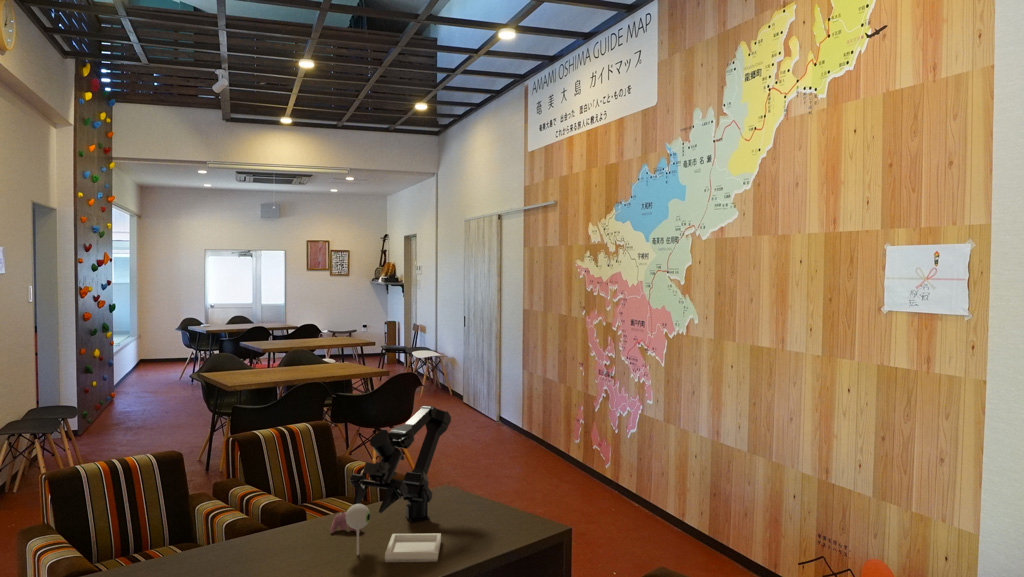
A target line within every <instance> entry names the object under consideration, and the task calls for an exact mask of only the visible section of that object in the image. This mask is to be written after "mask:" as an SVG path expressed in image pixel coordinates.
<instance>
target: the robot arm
mask: <svg viewBox="0 0 1024 577" xmlns="http://www.w3.org/2000/svg"><path fill="white" fill-rule="evenodd" d="M451 421H452V417H451V415H450V413H449V411H448V410H442V409H439V408H436V407H435V406H433V405H432V406H431V405H421V406H420V407H419V409H418V411H416V413H414V414H413V416H412V417H411V418H410V419H408V420H407V421H406V422H405V423H404V424H403V425H398V426H396V427H394V428H392V429H391V430H390V431H388V430H387V429H383V428H382V429H380V431H378V432H376V433H375V434H373V435H372V436H371V437H370V440H369V445H370V446H371V447H372V449H373V450H374V451H375V453H376V454H377V456H379V457H380V460H379V461H378V462H374V463H373V462H367V461H365V463H364V467H363V471H362V473H363V474H360V473H359V474H357V473H352V474H351V475H350V477H349V479H348V482H349V483H350V484H351V485H352V487H353V488H354V496H353V497H354V498H353V505H355V504H361V502H362V500H364V498H365V496H366V494H367V491H366V490H368V489H369V488H375V489H383V490H386V491H385V496H384V498H383V500H382V503H381V504H380V507H379V509H378V513H379V514H382V513H384V512H385V511H386V510H387V509H388V508H389V507H390V506H391V505H392V504H394V503H396V502H397V501H398V500H402V498H403V501H406V502H407V504H405V518H407V519H408V520H409V522H411V523H413V522H420V521H425V520H429V519H430V516H429V515H428V512H429V510H428V509H429V508H428V507H429V505H428V503H430V502H431V500H432V499H433V492H432V491H431V489H430V488H429V484H430V482H429V477H428V472H429V469H430V467H431V464H432V461H433V458H434V455H435V452H436V449H437V446H438V443H439V440H440V437H441V436H442V435H443V434H444V433H446V432H447V430H448V428H449V426H450V424H451ZM424 426H425V428H426V433H425V436H424V438H423V441H422V444H421V447H420V450H419V453H418V456H417V459H416V462H415V465H414V468H413V470H411V471H407V472H405V475H404V478H403V480H401V479H395V478H393V477H396V475H397V472H396V470H397V467H398V465H399V463H400V461H404V460H405V456H404V451H402V450H400V449H405V450H406V449H409V448H410V447H411V446H412V444H413V442H414V441H415V435H417V433H418V432H419V431H421V429H422V428H423V427H424ZM364 474H366V475H367V474H368V475H367V476H368V478H369V479H367V478H366V477H365V475H364ZM392 478H393V479H392Z"/></svg>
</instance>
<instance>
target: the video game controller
mask: <svg viewBox="0 0 1024 577" xmlns="http://www.w3.org/2000/svg"><path fill="white" fill-rule="evenodd" d="M346 512H347V511H344V512H340V513H339V512H338V513H337V514H336V515H335V516H334V517H333V520H332V523H331V526H330V534H334V533H335V532H336V530H337V529H338V527H339V530H340V531H346V529H347V528H348V529H349V531H351V532H354V531H355V534H356V535H357V529H353V528H351V527H350V526H349V525H348V524H347V522H346ZM361 530H362V528H361V529H359V534H360V532H361Z"/></svg>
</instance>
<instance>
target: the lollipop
mask: <svg viewBox="0 0 1024 577" xmlns="http://www.w3.org/2000/svg"><path fill="white" fill-rule="evenodd" d="M345 512H346V524H347V526H348V527H349V526H350V527H351V528H353V529H357V534H356V556H359V555H360V533H359V529H361V530H362V529H364V528H365V527H366V526H367V525H368V524H369V522H370V519H371V512H370V509H369V508H368V507H367V506H366V505H365V504H362V503H360V504H355V505H354V504H353V505H351V506H350V507H349V508H348V509H347V511H345Z"/></svg>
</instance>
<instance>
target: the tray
mask: <svg viewBox="0 0 1024 577" xmlns="http://www.w3.org/2000/svg"><path fill="white" fill-rule="evenodd" d="M441 544H442V533H441V532H440V533H435V532H434V533H433V532H432V533H392V534H391V537H390V540H389V542H388V544H387V548H386V550H385V553H384V563H435V562H436V563H437V562H438V560H439V555H440V554H439V553H440V550H441V549H440V548H441Z"/></svg>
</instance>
